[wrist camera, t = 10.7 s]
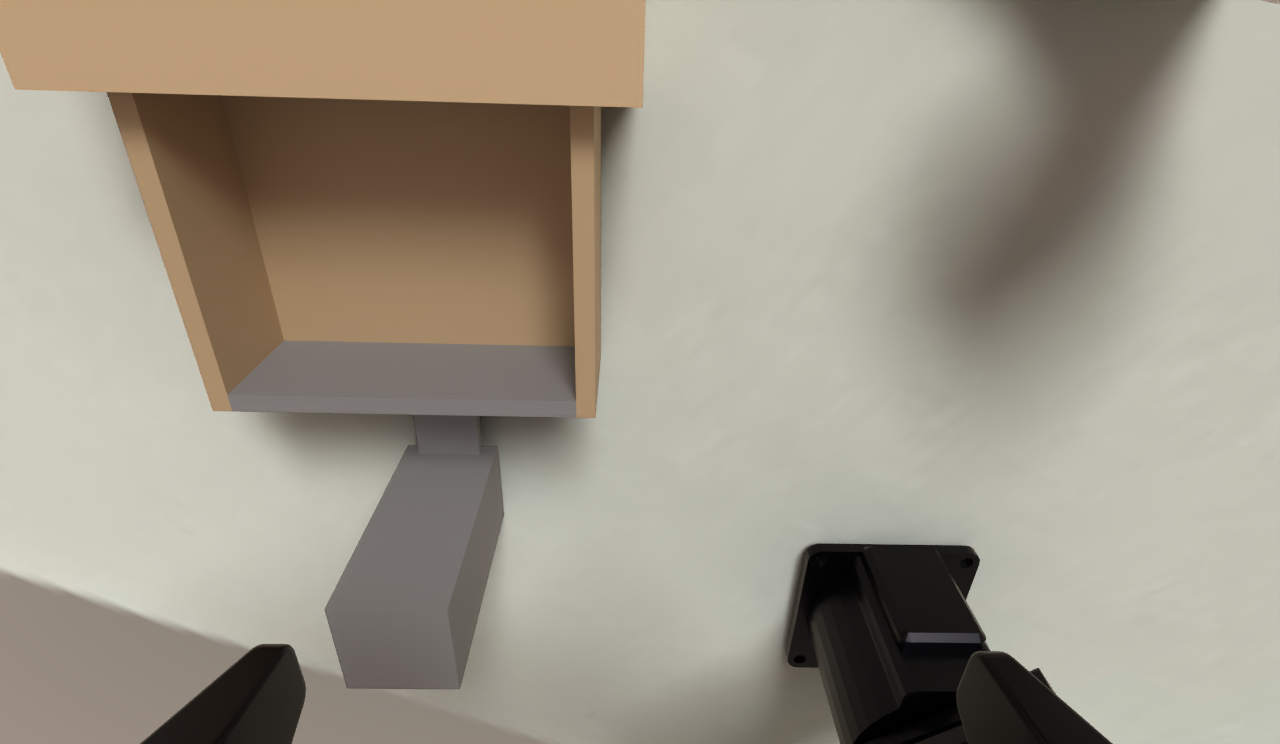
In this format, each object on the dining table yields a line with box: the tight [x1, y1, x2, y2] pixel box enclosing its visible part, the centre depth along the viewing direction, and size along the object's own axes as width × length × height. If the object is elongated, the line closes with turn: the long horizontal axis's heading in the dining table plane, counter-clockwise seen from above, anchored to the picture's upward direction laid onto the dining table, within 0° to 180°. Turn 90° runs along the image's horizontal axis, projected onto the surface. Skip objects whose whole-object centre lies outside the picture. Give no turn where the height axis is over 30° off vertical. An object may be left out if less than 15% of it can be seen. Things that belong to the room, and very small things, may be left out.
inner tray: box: [107, 92, 601, 689], centre depth 16 cm, size 20×10×7 cm, turn 178°
